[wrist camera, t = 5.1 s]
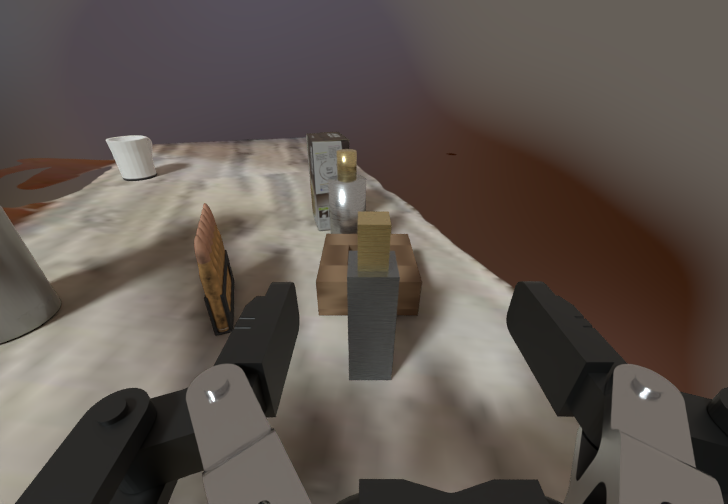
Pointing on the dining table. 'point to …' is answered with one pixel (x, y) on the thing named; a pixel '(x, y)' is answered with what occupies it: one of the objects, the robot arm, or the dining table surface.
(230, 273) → the ammunition clip
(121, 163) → the mug
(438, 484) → the dining table surface
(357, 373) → the square bit
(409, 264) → the socket block
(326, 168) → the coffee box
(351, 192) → the silver bottle
